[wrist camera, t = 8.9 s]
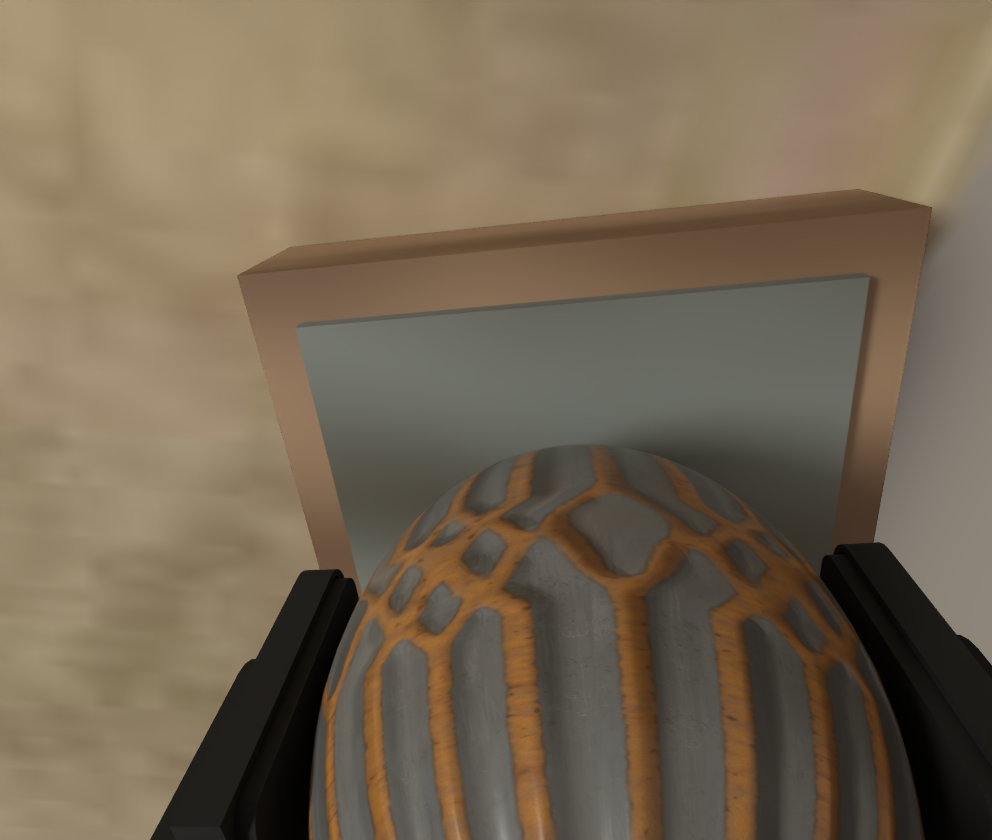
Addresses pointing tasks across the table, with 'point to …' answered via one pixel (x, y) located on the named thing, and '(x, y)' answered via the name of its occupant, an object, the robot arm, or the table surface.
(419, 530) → the vase
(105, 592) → the table surface
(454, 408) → the plinth
